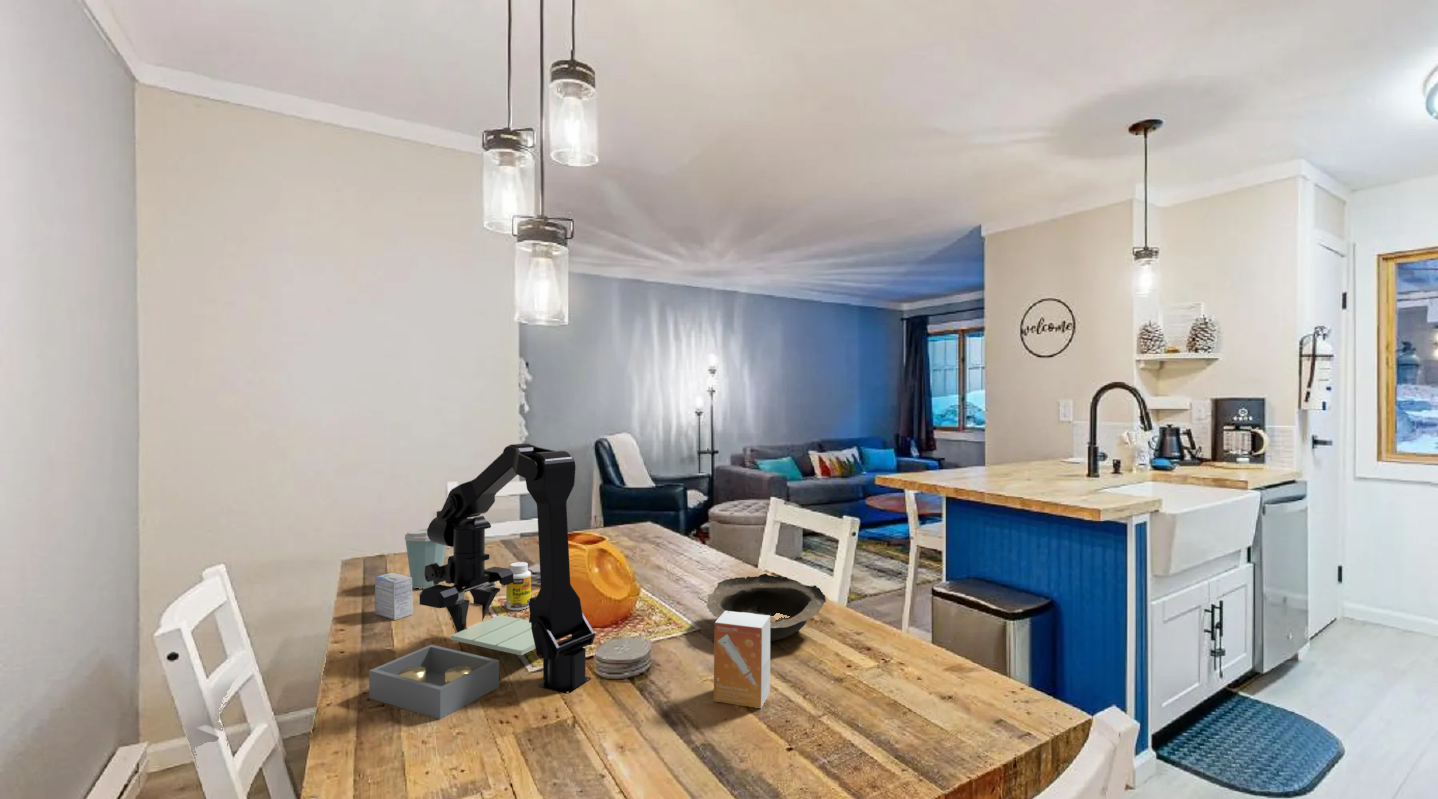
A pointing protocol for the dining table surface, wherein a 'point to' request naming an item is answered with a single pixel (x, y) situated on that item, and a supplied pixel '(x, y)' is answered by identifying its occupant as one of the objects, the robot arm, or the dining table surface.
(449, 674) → the brass part
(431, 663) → the tub
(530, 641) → the lid
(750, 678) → the small box
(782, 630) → the stone bowl
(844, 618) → the dining table surface
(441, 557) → the disposable coffee cup
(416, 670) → the brass part
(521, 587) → the supplement bottle
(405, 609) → the medicine box
